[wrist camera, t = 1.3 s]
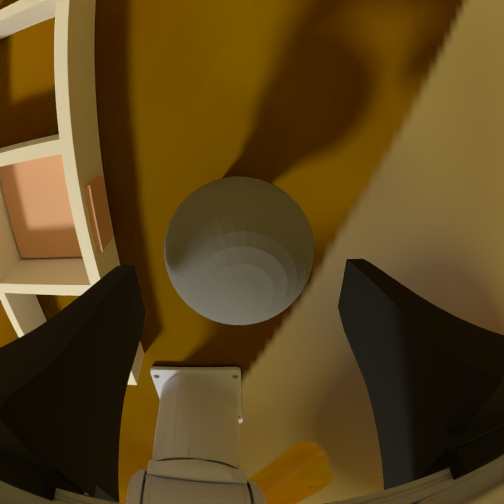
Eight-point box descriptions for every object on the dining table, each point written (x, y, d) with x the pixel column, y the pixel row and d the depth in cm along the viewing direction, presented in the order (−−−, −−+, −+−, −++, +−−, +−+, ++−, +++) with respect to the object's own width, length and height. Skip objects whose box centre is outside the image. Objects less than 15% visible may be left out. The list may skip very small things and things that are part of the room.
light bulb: (292, 151, 18) (351, 218, 9) (278, 241, 21) (310, 358, 12) (188, 142, 17) (145, 203, 9) (185, 235, 20) (157, 352, 11)
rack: (148, 353, 25) (141, 385, 22) (52, 346, 25) (39, 373, 22) (102, -8, 12) (78, -23, 9) (-17, 38, 11) (-48, 38, 8)
